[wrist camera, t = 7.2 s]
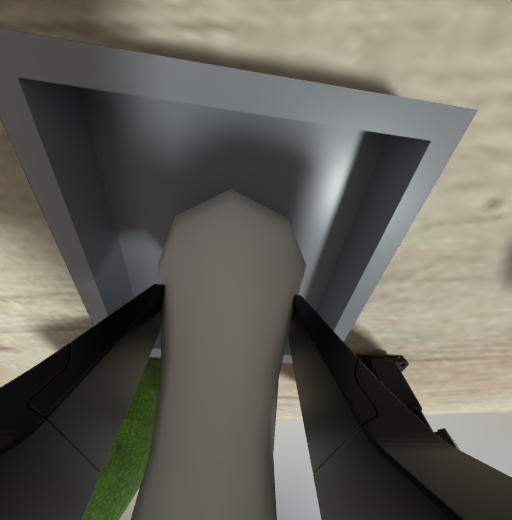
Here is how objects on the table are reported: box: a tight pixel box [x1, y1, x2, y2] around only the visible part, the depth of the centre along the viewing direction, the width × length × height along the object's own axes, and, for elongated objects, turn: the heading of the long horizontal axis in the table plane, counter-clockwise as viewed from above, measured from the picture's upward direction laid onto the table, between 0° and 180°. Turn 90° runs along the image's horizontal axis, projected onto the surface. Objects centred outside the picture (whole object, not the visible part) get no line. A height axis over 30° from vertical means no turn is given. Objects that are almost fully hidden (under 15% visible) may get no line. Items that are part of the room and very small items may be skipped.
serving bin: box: [0, 28, 478, 364], centre depth 12 cm, size 15×15×4 cm
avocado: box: [82, 357, 161, 520], centre depth 15 cm, size 8×8×12 cm
